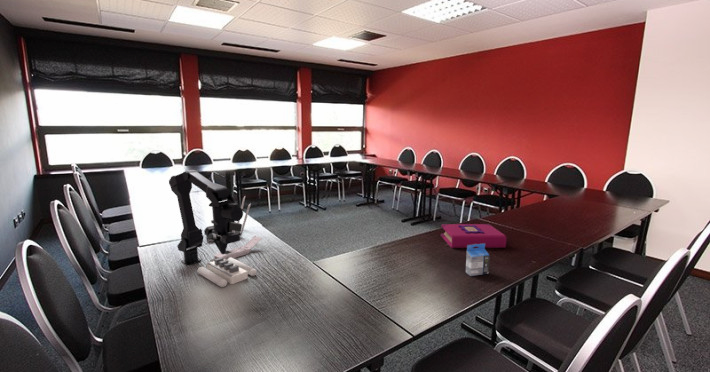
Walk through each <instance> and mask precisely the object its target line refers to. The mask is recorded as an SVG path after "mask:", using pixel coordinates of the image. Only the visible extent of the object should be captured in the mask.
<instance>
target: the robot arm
mask: <svg viewBox="0 0 710 372" xmlns="http://www.w3.org/2000/svg"><path fill="white" fill-rule="evenodd" d="M168 184H169V186H170V190H171V191H172V193H174V194H175V196H176V198H177V201H178V208H179V212H180V217H181V221H182V227H183V229H182V231H181V233H180V239H181V240H180V241H179V243H178V244H177V250H178V251H179V252H183V259H181V261H180V262H182V263H183V264H185V266H186V265H187V266H189V265H192V264H196V263H200V262H202V259H201V258H199V251H198V248H201V247H203V241H204V235H205V236H206V235H207V236H209V234H210V233H212V234H213V238H211V239H212V240H213V241H212V242H213V243H214V245H215V246H216V248H217V249H218V251H219V253H220V252H221V254H225V252H226V250H227V249H228V245H229V244H233V243H236V242H240V241H241V236H240V235H239V234H237V233H234V232H232V230H234V231H239V232H240V233H241V229H242V226H243V223H240V221H241V220H242V218H243V216H244V210H243V209H241V206H239V204H238V203H236V202H235V199H234V197H233V195H232V194H231V191H230V189H229V188H228V187H227V186H226V185H222V184H219V183H214V182H212V181H211V180H209V179H208V178H206V177H205V176H204V175H203V174H201V173H199V171H197V170H195V169H191V170H185V171H183V172H182V173H181V172H180V173H179V174H177V175H172V176H170V178H169V179H168ZM193 185H194V186H195V187H197V188H199V189H200V190H201V191H203V192H204V194H205V198H207V199H208V200H209V202H210V203H209V204H208V206H209V207H212V208H211V209H212V211H211V212H212V220H210V223H211V224H213V225H211V226H212V227H209V226H207V227H208V228H206V227H205V229H204V235H203V229H201V228H199V227H198V226H197V225H196V220H195V214H194V210H193V205H192V199H191V196H190V194H191V191H192V189H193ZM239 220H240V221H239ZM238 221H239V223H237V222H238ZM228 232H232V233H228ZM207 236H206V237H207Z"/></svg>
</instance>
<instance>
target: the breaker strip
mask: <svg viewBox="0 0 710 372" xmlns="http://www.w3.org/2000/svg"><path fill="white" fill-rule="evenodd" d="M213 259H214V258H213ZM206 269H208V270H210V271H211V272H213V273H215V274H216V275H218V276H220V277H222V278H223V279H225V280H226V281H227V283H229V284H230V285H235V284H236V283H239V282H242V281H245V280H246V279H248V278H249V274H248V273H247V271H246V270H244V269H242V268H240V267H239V266H238V265H234V263H232V262H229V261H228V260H224V258H222V257H221V258H217V259H214V261H207V262H206Z"/></svg>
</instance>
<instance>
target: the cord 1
mask: <svg viewBox="0 0 710 372" xmlns="http://www.w3.org/2000/svg"><path fill="white" fill-rule="evenodd" d="M197 273H198V274H199V275H200V276H202V277H204V278H206V280H208V281H210V282H212V283H214V284H215V285H217V286H219V287H220V288H225V287H226V286H227V284H228V282H227V281H226V280H225V279H223V278H222V277H220V276H218V275H216V274H215V273H213V272H211V271H210V270H208V269H207V267H205V266H199V267H198V269H197Z"/></svg>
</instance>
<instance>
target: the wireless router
mask: <svg viewBox="0 0 710 372" xmlns="http://www.w3.org/2000/svg"><path fill="white" fill-rule="evenodd" d="M245 199H246V195H244V197H243V198H242V202H241V206H240V208H241V209H242V210H243V209H244V204H245ZM250 207H251V202H250V203H249V204H248V205H247V209H246V211H245V216H244V220H243V223H242V228H241V232H239V231H234V230H232V232H234V233H237V234H239V235H240V237H242V236H243V234H244V228H245V225H246V222H247V218H248V215H249V211H250V209H251V208H250ZM240 222H241V220H239V221H236V223H240ZM212 226H213V225H209V226H206V227H205V229H206V228H208V227H212ZM232 232H228V233H232ZM205 236H206V240H207V241H209V242H214V241H213V240H212V239H211V238H213V234H212V233H210V234H209V236H207V235H205Z"/></svg>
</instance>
